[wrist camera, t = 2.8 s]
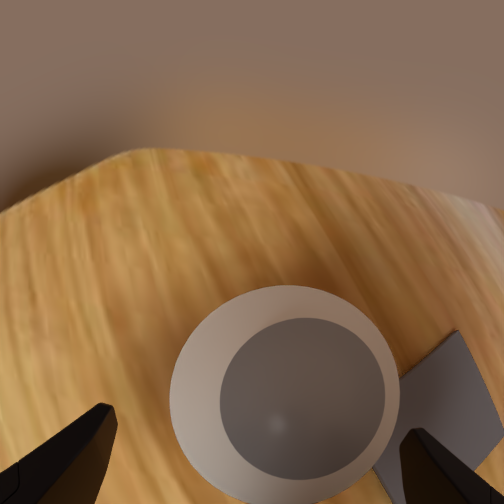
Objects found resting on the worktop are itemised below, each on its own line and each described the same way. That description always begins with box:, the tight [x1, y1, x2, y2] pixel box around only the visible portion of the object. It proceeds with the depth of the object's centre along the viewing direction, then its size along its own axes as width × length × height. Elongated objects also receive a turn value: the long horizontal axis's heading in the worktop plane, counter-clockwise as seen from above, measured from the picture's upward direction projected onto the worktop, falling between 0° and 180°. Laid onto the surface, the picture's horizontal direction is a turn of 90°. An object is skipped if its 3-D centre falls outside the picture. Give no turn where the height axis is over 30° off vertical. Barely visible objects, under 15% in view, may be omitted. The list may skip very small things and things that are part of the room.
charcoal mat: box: [372, 330, 504, 504], centre depth 15 cm, size 10×10×1 cm
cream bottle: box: [170, 285, 400, 504], centre depth 11 cm, size 5×5×13 cm
